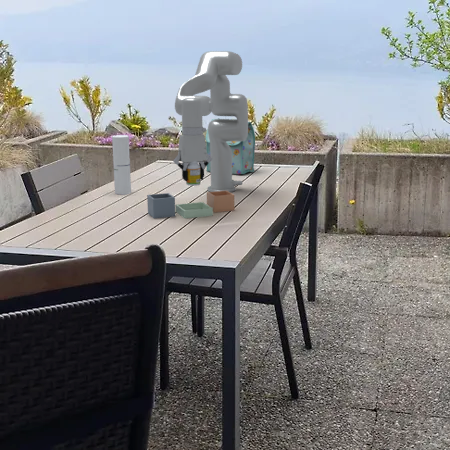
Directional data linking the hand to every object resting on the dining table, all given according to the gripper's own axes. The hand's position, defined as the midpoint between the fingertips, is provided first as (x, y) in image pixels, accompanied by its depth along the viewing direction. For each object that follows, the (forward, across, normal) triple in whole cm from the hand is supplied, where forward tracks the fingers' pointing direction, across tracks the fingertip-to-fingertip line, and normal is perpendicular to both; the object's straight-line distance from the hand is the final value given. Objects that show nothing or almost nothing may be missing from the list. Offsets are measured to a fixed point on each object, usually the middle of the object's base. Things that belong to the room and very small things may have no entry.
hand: (193, 179), depth 255 cm
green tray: (+14, 0, 0) cm, 14 cm away
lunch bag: (+14, -46, -79) cm, 93 cm away
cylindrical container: (+14, +16, -51) cm, 55 cm away
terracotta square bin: (+14, -12, -3) cm, 19 cm away
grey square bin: (+14, +12, -3) cm, 19 cm away
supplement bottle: (+2, 0, 0) cm, 2 cm away
